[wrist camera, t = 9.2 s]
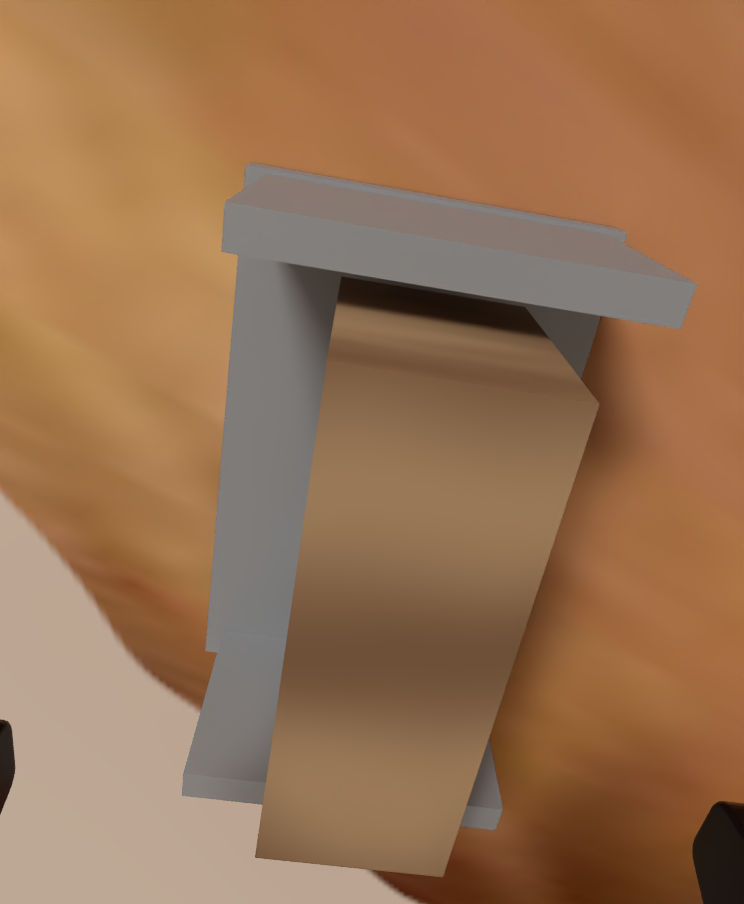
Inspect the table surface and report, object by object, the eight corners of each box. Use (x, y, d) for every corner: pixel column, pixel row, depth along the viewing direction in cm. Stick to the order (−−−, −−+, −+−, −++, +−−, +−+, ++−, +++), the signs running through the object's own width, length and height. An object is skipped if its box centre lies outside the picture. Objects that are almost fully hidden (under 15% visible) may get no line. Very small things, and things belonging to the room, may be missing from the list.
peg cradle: (251, 162, 17) (194, 189, 11) (616, 227, 17) (727, 282, 12) (210, 634, 23) (161, 795, 18) (480, 668, 24) (513, 835, 18)
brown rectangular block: (425, 686, 20) (442, 877, 15) (284, 668, 20) (255, 857, 15) (525, 306, 15) (600, 403, 10) (341, 276, 15) (326, 361, 10)
